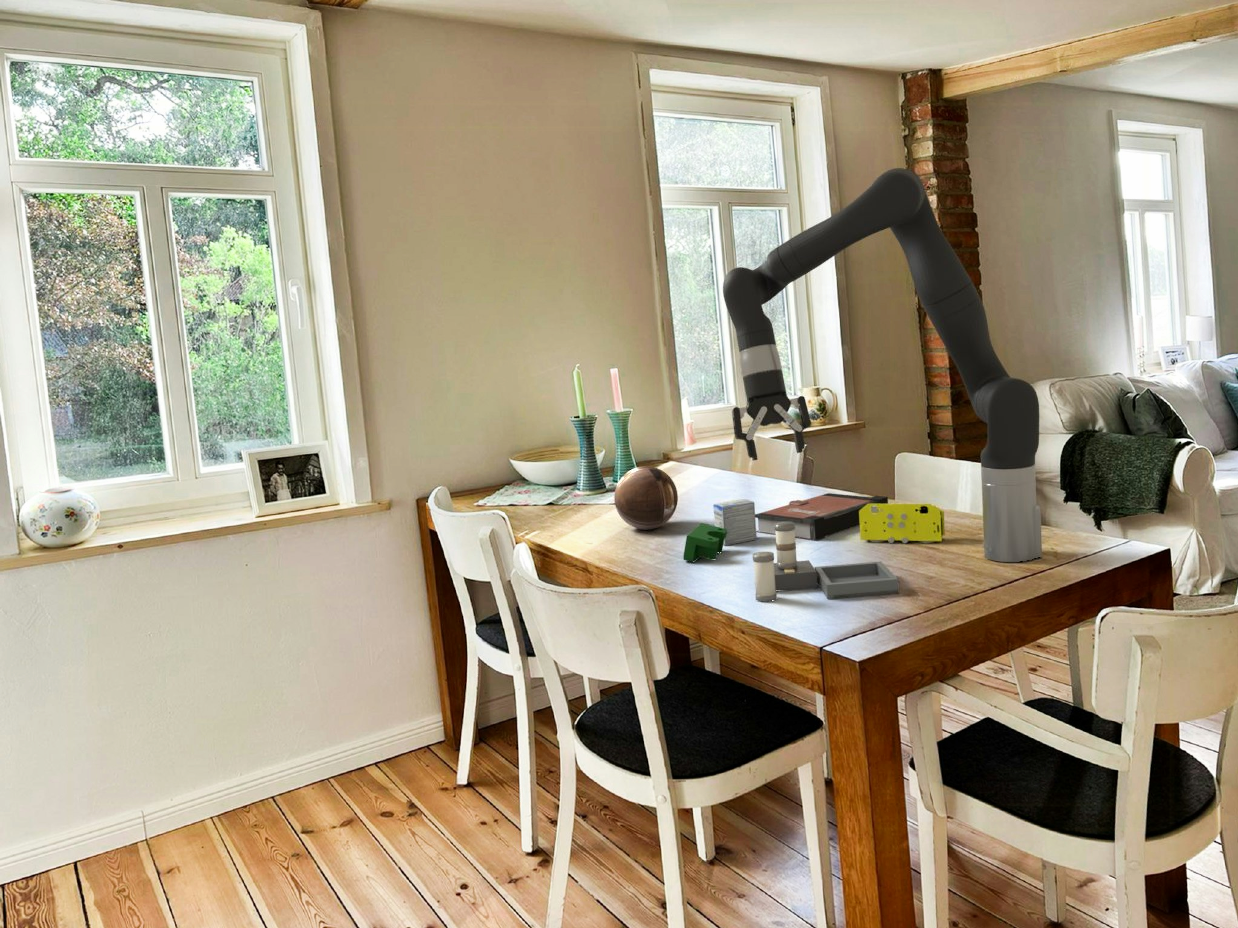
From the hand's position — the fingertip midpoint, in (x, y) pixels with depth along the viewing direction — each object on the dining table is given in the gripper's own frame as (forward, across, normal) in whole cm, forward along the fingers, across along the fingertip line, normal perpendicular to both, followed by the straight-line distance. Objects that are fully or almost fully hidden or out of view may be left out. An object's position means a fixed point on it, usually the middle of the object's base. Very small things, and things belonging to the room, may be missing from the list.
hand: (777, 456), depth 185 cm
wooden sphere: (+10, -25, +50) cm, 57 cm away
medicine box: (+16, -7, +30) cm, 34 cm away
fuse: (+25, -9, -13) cm, 29 cm away
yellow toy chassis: (+21, +25, +17) cm, 37 cm away
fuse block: (+23, -3, -6) cm, 24 cm away
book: (+16, +14, +38) cm, 44 cm away
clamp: (+17, -15, +19) cm, 30 cm away
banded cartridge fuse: (+20, -3, -6) cm, 22 cm away
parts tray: (+25, +7, -11) cm, 29 cm away
